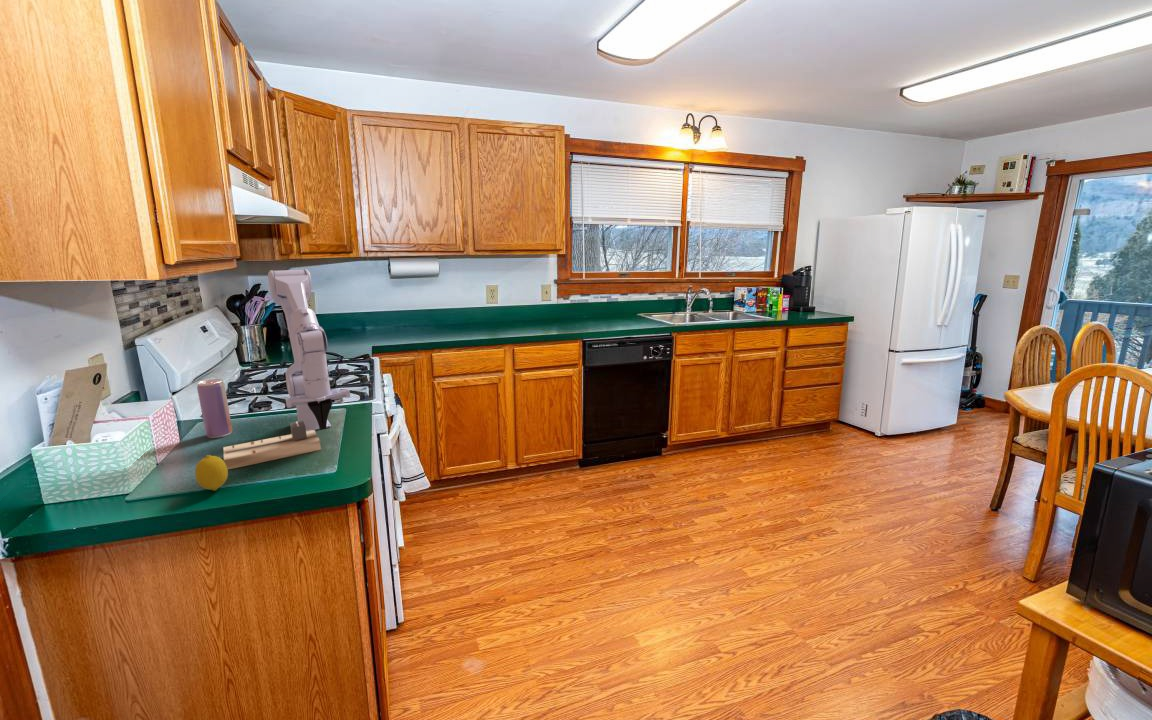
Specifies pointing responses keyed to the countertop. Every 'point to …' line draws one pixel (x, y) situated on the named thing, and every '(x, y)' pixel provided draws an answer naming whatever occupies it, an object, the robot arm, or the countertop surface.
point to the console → (269, 449)
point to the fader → (298, 430)
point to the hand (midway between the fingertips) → (322, 428)
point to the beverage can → (214, 408)
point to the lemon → (211, 472)
